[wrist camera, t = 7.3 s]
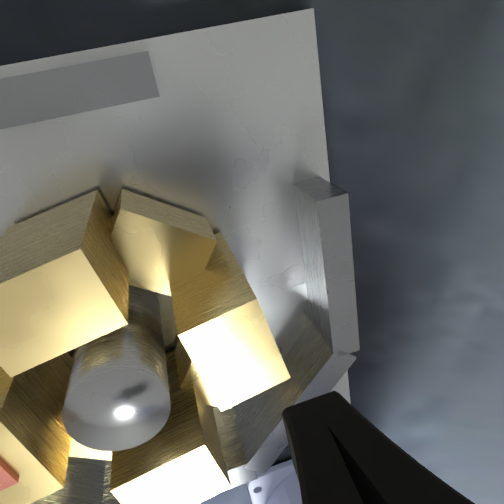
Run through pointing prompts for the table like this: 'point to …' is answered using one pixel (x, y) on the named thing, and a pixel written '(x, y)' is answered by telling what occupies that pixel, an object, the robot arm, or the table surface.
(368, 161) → the table surface
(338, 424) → the robot arm
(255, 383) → the gold block ring
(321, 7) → the table surface
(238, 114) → the flange plate
